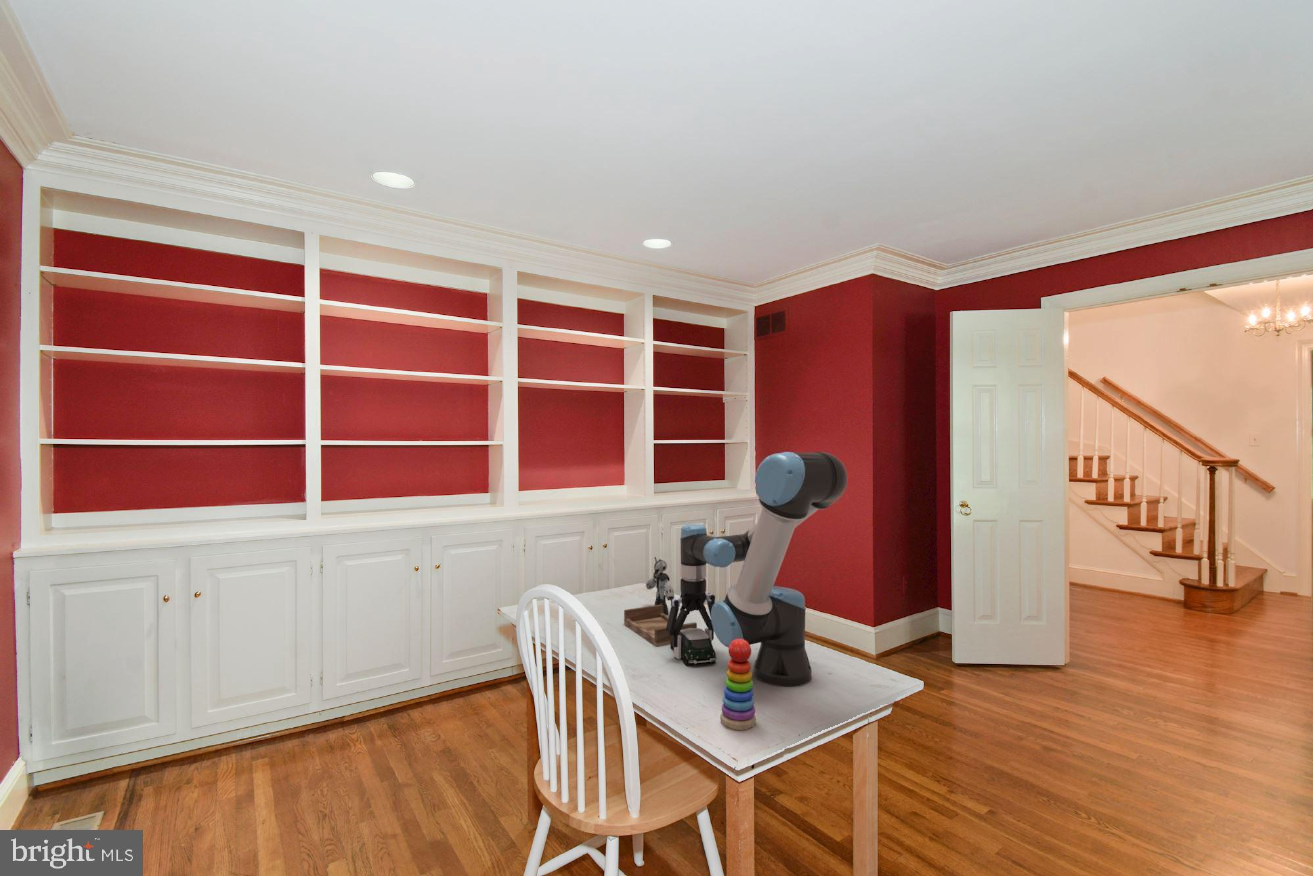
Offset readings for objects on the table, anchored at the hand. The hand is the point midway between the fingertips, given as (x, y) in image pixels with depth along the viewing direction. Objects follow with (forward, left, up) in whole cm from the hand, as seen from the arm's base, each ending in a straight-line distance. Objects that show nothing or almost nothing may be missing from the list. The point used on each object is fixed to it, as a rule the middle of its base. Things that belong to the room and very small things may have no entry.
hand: (692, 654), depth 172 cm
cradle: (+23, -1, 0) cm, 23 cm away
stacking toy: (-39, +12, 0) cm, 41 cm away
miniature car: (0, 0, -1) cm, 1 cm away
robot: (+41, -11, 0) cm, 42 cm away
